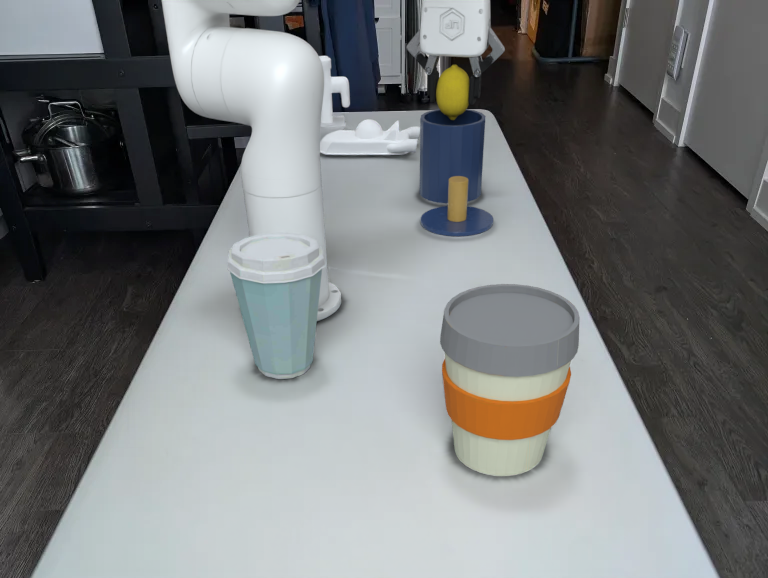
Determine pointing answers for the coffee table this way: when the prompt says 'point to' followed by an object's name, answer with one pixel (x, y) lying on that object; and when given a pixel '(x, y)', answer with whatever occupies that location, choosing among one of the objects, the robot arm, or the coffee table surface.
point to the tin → (450, 153)
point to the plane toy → (371, 140)
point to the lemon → (453, 92)
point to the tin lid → (457, 213)
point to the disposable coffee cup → (278, 298)
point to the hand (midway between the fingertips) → (453, 100)
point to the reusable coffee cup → (506, 373)
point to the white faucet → (331, 86)
